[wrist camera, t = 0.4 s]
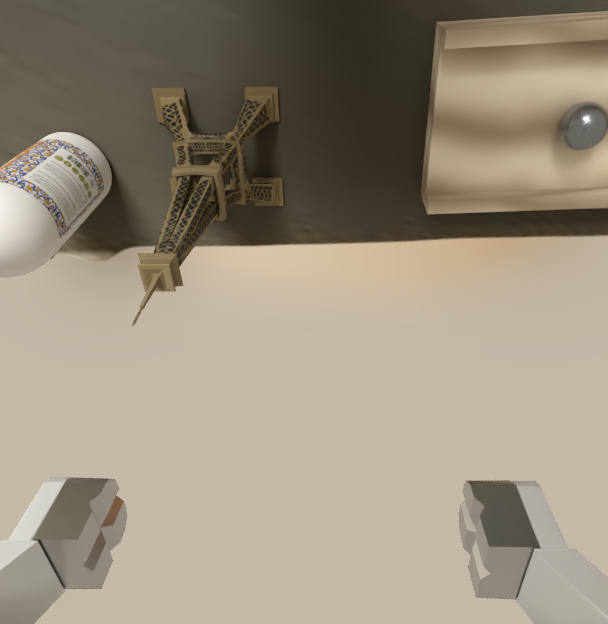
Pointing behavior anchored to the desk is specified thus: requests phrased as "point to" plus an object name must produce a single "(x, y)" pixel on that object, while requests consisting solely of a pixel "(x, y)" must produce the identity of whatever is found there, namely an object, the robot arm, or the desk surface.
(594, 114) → the steel ball
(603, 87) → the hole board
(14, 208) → the bath foam
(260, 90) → the eiffel tower
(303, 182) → the desk surface
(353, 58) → the desk surface
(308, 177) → the desk surface
